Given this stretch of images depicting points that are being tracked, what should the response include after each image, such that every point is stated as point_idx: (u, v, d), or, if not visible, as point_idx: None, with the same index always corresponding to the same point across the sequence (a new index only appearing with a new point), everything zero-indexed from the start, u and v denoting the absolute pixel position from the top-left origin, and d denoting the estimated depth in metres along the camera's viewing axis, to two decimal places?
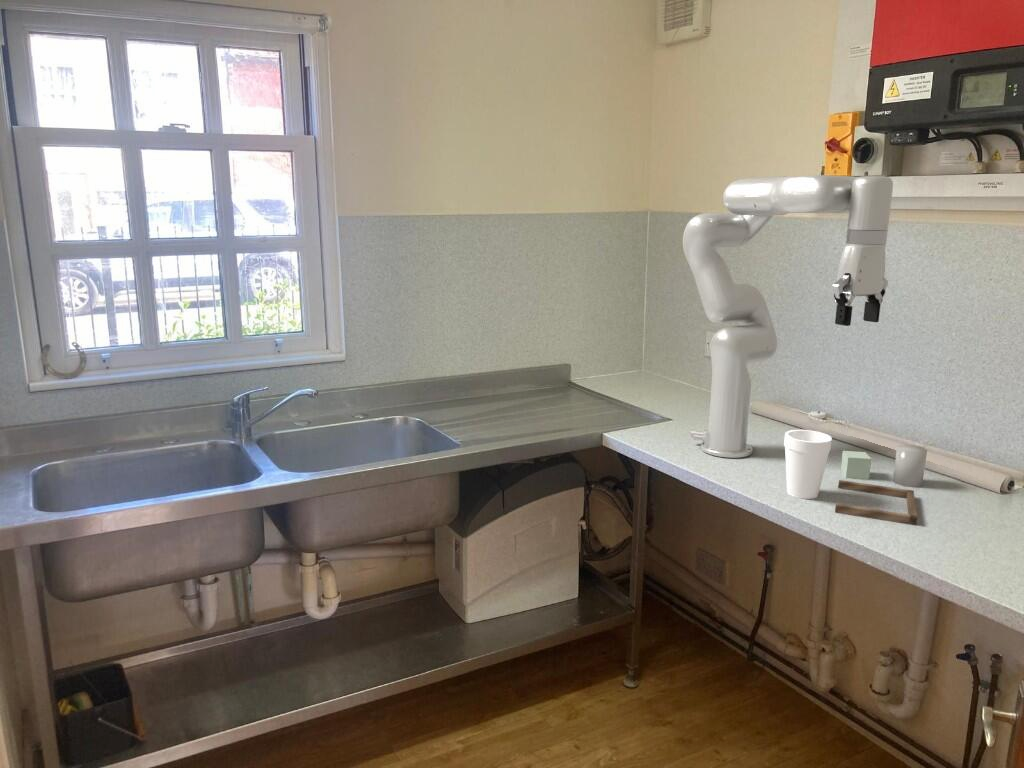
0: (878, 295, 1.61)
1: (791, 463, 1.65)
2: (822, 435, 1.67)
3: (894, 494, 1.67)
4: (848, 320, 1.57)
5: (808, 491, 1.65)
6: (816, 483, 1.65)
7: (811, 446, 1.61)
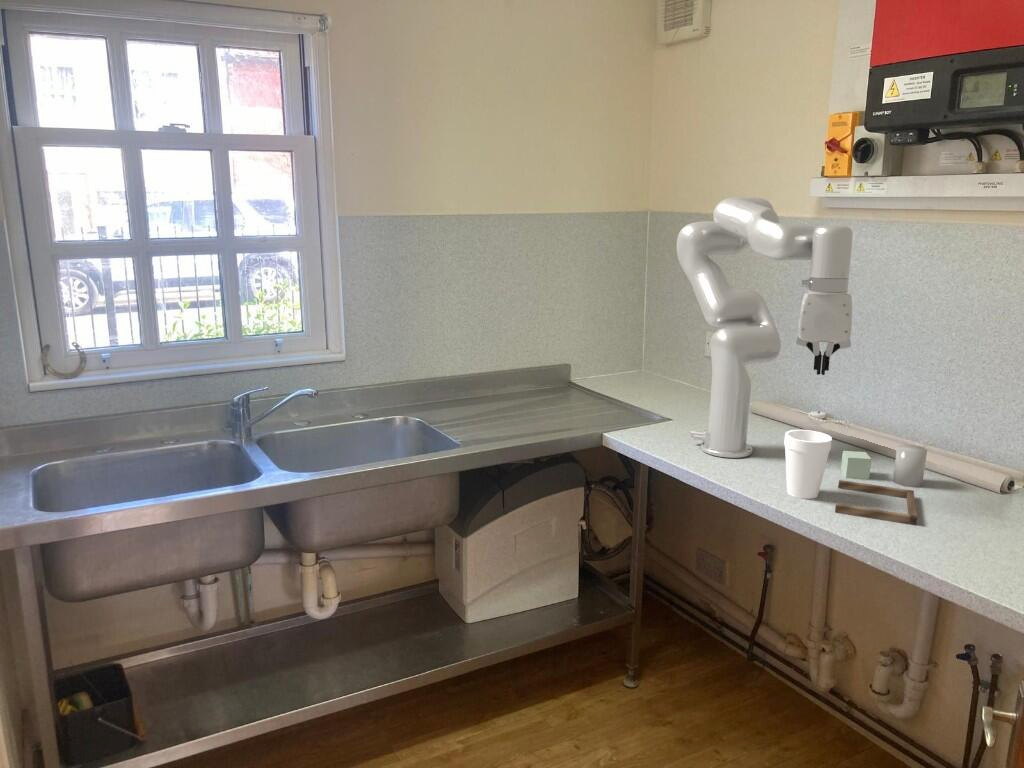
0: None
1: (791, 463, 1.65)
2: (822, 435, 1.67)
3: (894, 494, 1.67)
4: None
5: (808, 491, 1.65)
6: (816, 483, 1.65)
7: (811, 446, 1.61)
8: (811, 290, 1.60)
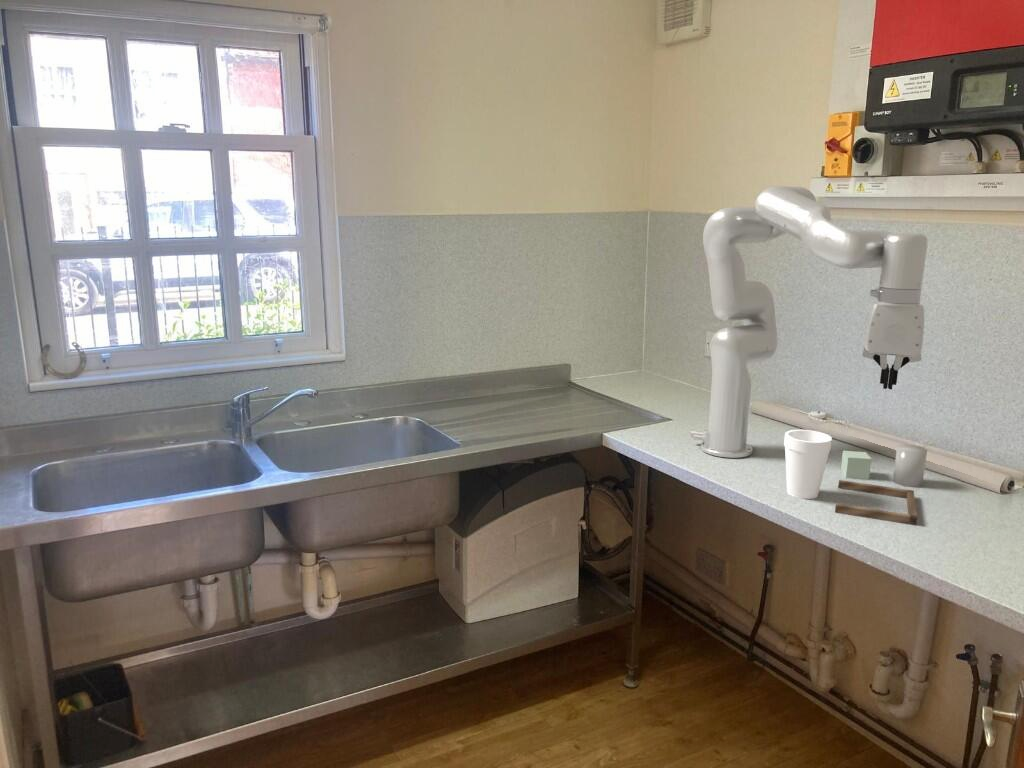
0: None
1: (791, 463, 1.65)
2: (822, 435, 1.67)
3: (894, 494, 1.67)
4: None
5: (808, 491, 1.65)
6: (816, 483, 1.65)
7: (811, 446, 1.61)
8: (880, 300, 1.53)
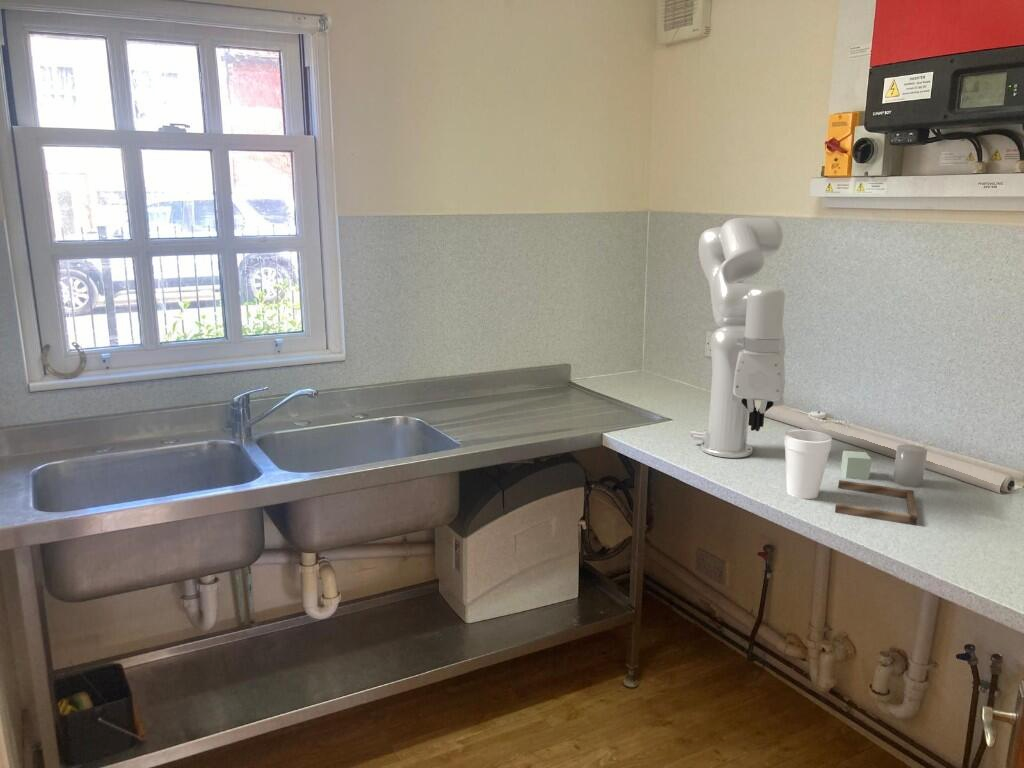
0: None
1: (791, 463, 1.65)
2: (822, 435, 1.67)
3: (894, 494, 1.67)
4: None
5: (808, 491, 1.65)
6: (816, 483, 1.65)
7: (811, 446, 1.61)
8: (745, 349, 1.65)
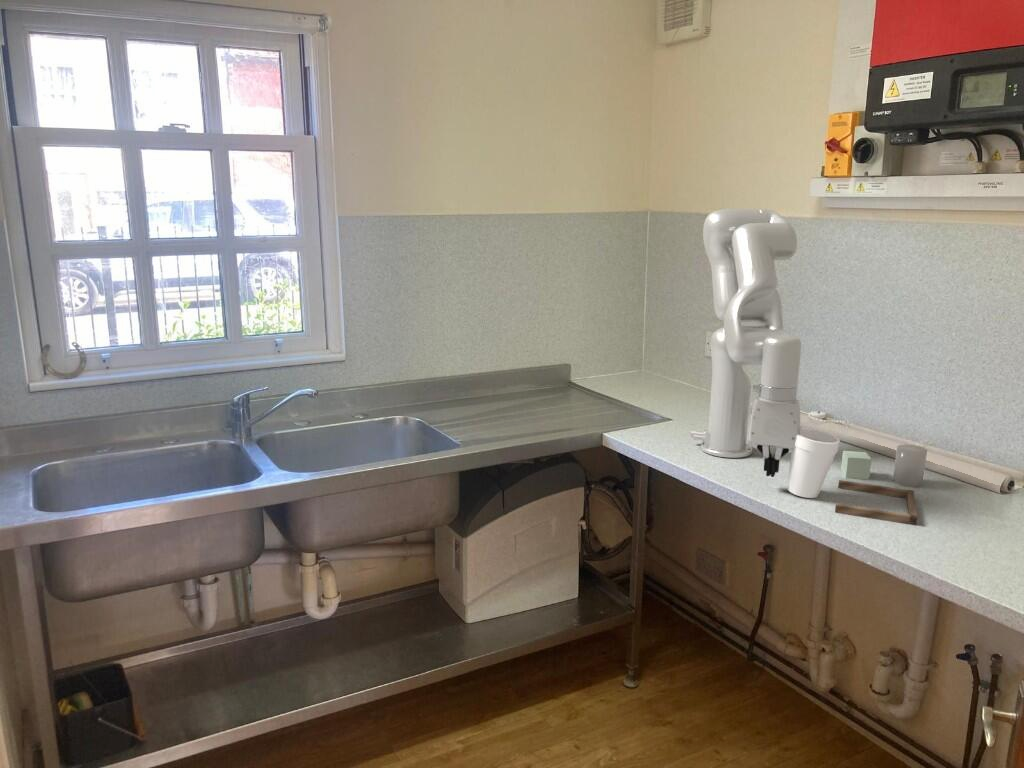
0: None
1: (796, 461, 1.65)
2: (830, 436, 1.67)
3: (894, 494, 1.67)
4: None
5: (809, 490, 1.65)
6: (819, 483, 1.64)
7: (819, 446, 1.61)
8: (761, 396, 1.66)
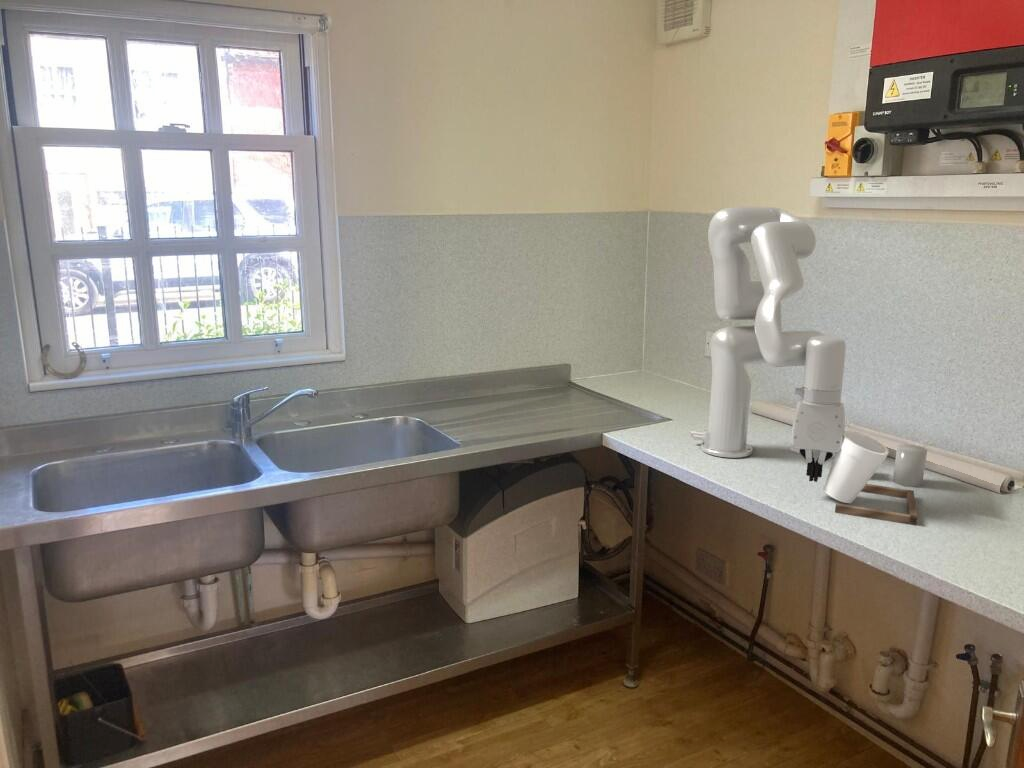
0: None
1: (839, 463, 1.61)
2: (879, 445, 1.62)
3: (894, 494, 1.67)
4: None
5: (845, 495, 1.62)
6: (857, 490, 1.61)
7: (866, 454, 1.57)
8: (804, 399, 1.62)
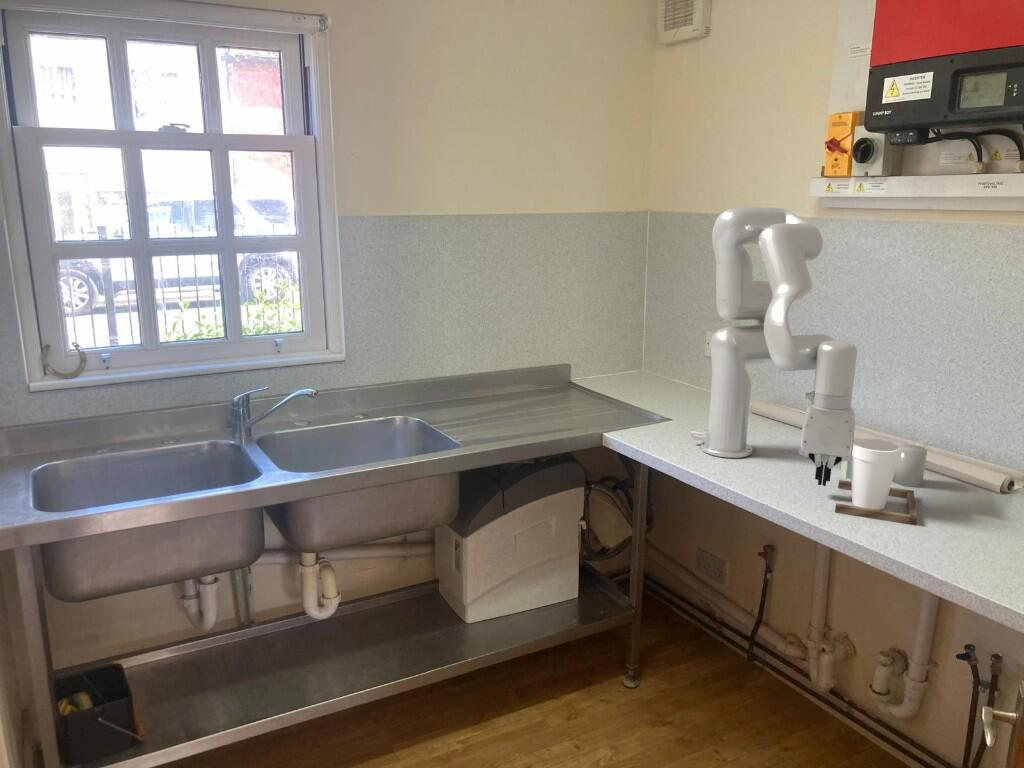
0: None
1: (856, 472, 1.60)
2: (892, 445, 1.61)
3: (894, 494, 1.67)
4: None
5: (873, 502, 1.59)
6: (883, 494, 1.59)
7: (877, 455, 1.56)
8: (814, 404, 1.62)
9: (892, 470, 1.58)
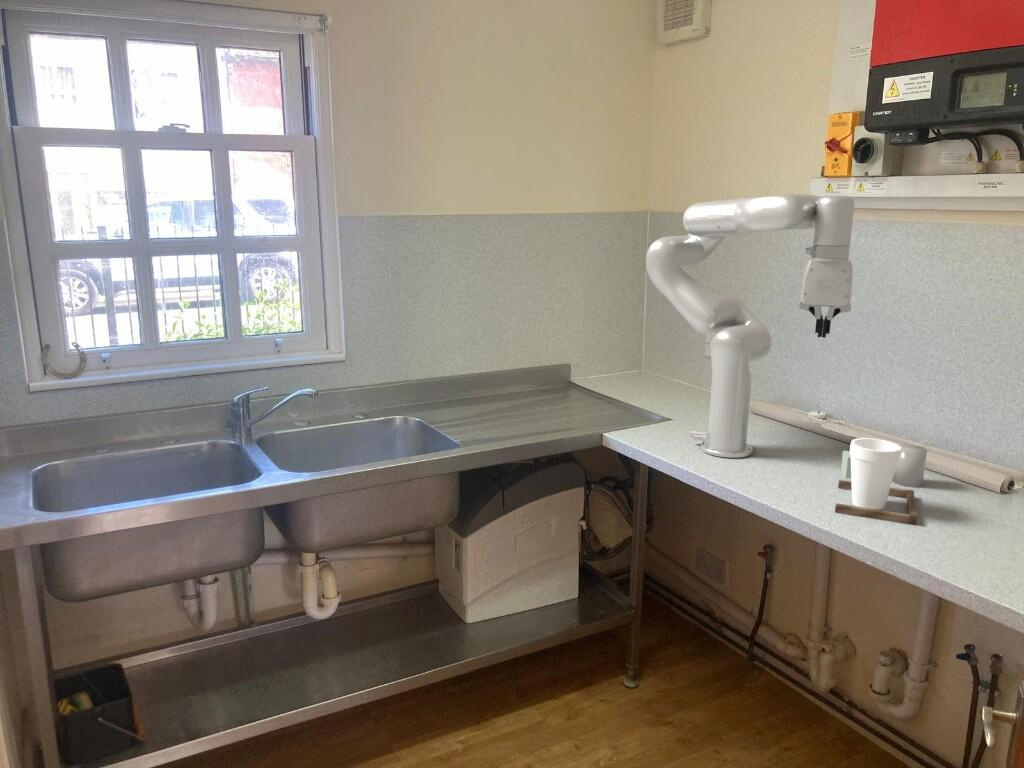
0: None
1: (856, 472, 1.60)
2: (892, 445, 1.61)
3: (894, 494, 1.67)
4: None
5: (873, 502, 1.59)
6: (883, 494, 1.59)
7: (877, 455, 1.56)
8: (814, 257, 1.70)
9: (892, 470, 1.58)
